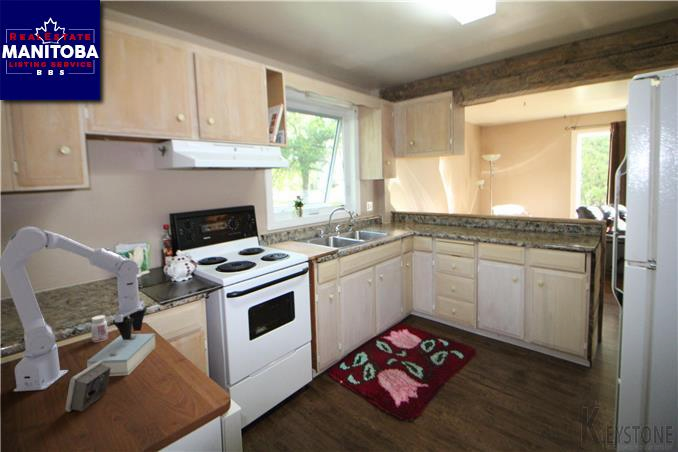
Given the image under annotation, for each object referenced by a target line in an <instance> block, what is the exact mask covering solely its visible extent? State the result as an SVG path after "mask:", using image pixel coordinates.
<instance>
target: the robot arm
mask: <svg viewBox="0 0 678 452" xmlns="http://www.w3.org/2000/svg"><path fill="white" fill-rule="evenodd" d="M44 247H45V249H47V250H53V249H61V250H64V251H66V252H69V253H72V254H75V255H78V256H80V257H83V258H86V259H88V261H89V264H90V265H92V266H95V267H97V268H99V269H102V270H105V271H106V272H110V273H115V274H116V279H117V283H116V285H117V294H118V295H117V296H118V305H119V307H118V308H119V309H118V311H117V313H116V314H115V315H114V316H113V317H114V319H113V320H112V323H113V325H114V326H115V328H117V330H118V331H119V333H120V335H121V336H122V338H123V340H130V339H131V334H132V330H133V331H134V332H138V331H139V332H140V331H142V327H143V321H144V317H145V314H146V312H147V307H144V306H145V301H144V300H140V293H139V292H140V291H139V280H138V274H139V272H140V267H139V266H138V264H137V262H135V261H134V260H132V259H130V258H128V257H126V255H125V254H121V255H120V254H118V253H115V252H113V251H112V250H111V248H108V247H105V248H103V247H97V248H91V247H89V246H88V245H85V244H83V243H80V242H78V241H75V240H73V239H72V238H69V237H66V236H65V235H63V234H59V233H56V232H52V231H50V230H45V229H43V231H42V230H41V229H40V228H39V227H36V226H32V225H29V226H28V225H27V226H24V227H21V228H19V229H18V230H17V231H16V232H15V233H14V234H12V235H11V237H10V238H9V239H8V242H7V245H6V246H5V248H4V251H3V252H2V253H1V254H2V255H1V256H0V268H1V269H0V270H1V271H2V275H3V277H4V280H5V282H6V285H7V288H8V290H9V292H10V293H9V294H10V295H11V298H12V301H13V304H14V306H15V309H16V312H17V314H18V317H19V320H20V322H21V324H22V328H23V331H24V334H23V339H24V347H25V350H24V351H23V357H22V358H21V360H20V361H19V362H18V363H17V364H16V365H15V367H14V376H15V384H16V388H14V389H13V392H26V391H27V392H28V391H43V390H46V389H47V388H48V387H50V386H51V385H52V384H54V383H56V382H57V381H58V380H59V379H60V378H62V377H63V376H64V375H66V374H67V373H68V372H69V370H68V369H63V370H62V369H61V368H60V361H59V360H60V359H59V352H58V351H59V350H58V344H57V343H56V337H55V334H54V333H53V329H52V326H50V325H49V324H47V322H45V320H44V316H43V314H42V313H43V312H42V311H41V309H40V306H39V302H38V299H37V298H36V294H35V292H34V289H33V286H32V284H31V281H30V278H29V275H28V272H27V269H26V267H25V264H26V263H27V262H28V261H29V260H30V258H31V257H32V256H34V254H36V253H38V252H39V251H41V250H42V249H44ZM128 316H129V317H128Z"/></svg>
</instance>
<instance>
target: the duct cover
mask: <svg viewBox="0 0 678 452" xmlns="http://www.w3.org/2000/svg"><path fill="white" fill-rule="evenodd" d="M154 336H155V337H156V334H155V333H137V334H136V333H135V334H134V333H131V339H130V340H123V338H122V336H121V334H120V335H119V336H118V337H116V338H115V339H114V340H112V341H110V343H109V344H107V345H106V346H104V347H103V348H102V349H101V350H100V351H98V352H97V353H96V354H95V355H93V356H92V357H90V358H89V359H87V361H86V365H87V364H95V363H96V362H98V361H99V360H100V361H103V362H104V363H119V362H128V361H129V360H130V359H131V358H132V357H133V356H134V355H135V354H136V353H137V352H138V351H139V350H140V349H141V348H142V347H143V346H144V345H145V344H146V343H148V342H149V341H150V340H151V339H152V338H153V337H154Z"/></svg>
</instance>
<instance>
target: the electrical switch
mask: <svg viewBox="0 0 678 452" xmlns="http://www.w3.org/2000/svg"><path fill="white" fill-rule="evenodd" d="M103 363H104V362H103V361H100V360H99V361H98V362H96V363H95V364H93V365H91V366H90V367H88V368H85V369H83V370H82V371H81V372H79V373H77V374H75V375H74V376H72V377H71V379H70V380H69V385H68V386H69V387H68V391H67V398H66V403H65V411H66V412H68V413H70V412H71V411H73V410H74V411H79V412H83V411H84V410H85V409H88V407H89V406H91V405H92V404H94V403H95V402H97V401H98V400H99V399H100V398H102V397H103V396H105V394H106V393H107V391H108V390H107V389H108V383H109V378H110V376H109V374H110V369H111V368H110V367H107V366H105V365H103ZM103 375H104V376H103ZM90 404H91V405H90Z"/></svg>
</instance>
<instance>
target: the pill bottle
mask: <svg viewBox="0 0 678 452" xmlns="http://www.w3.org/2000/svg"><path fill="white" fill-rule="evenodd" d="M90 329H91V340H92V342H93V343H100V342H103V341H104V342H105V341H106V340H107V339H109V331H108V322H107V320H106V316H105V315H104V314H103V315H102V314H101V315H96V316H93V317H92V318H91V324H90Z"/></svg>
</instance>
